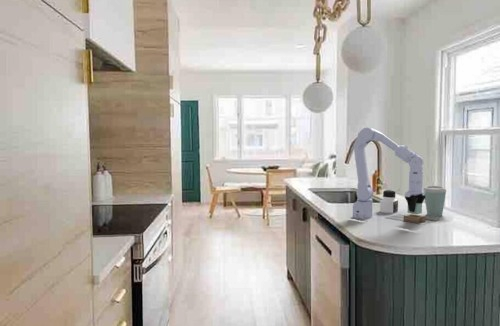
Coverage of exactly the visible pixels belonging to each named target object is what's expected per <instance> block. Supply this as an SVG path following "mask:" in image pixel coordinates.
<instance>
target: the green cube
mask: <svg viewBox="0 0 500 326" xmlns="http://www.w3.org/2000/svg"><path fill="white" fill-rule="evenodd" d="M422 213H423V203H416V207H415V211H414V212H410V211H409V206H408V205H407V214H418V215H421V214H422Z"/></svg>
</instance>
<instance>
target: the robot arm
mask: <svg viewBox="0 0 500 326" xmlns="http://www.w3.org/2000/svg"><path fill="white" fill-rule="evenodd" d="M372 141H374V142H380V143H382V144H384V145H385V146H386V147H388V148H389V149H391V150H392V151H394V155H395V156H397V158H399V159H401V160H402V161H403V162H405V164H408V165H409V172H408V173H409V175H408V177H409V178H408V191H405V192H404V199H405V200H406V203H407V207H408V206H409V211H410V212H414V211H415V207H416V203H422V204H423V203H424V202H425V197H426V196H425V195H424V194H425V190H423V177H424V175H423V174H424V173H423V164H424V159H423V157H422V156H421V155H419V154H418V153H417V152H415V151H412V150H411V149H409V147H408V146H407V145H404V144H403V145H402V144H401V145H398V144H397V142H395V141H393V140H392V139H390V138H389V137H388V136H386V135H385V134H384V133H382V132H381V131H379V130H377V129H375V128H373V127H364V128H362V129H361V130H360V131H359V132H358V134H357V137H356V139H355V141H354V143H353V152H354V158H355V159H354V160H355V167H356V174H357V190H356V192H355V193H356V197H357V198H356V201H354V203H353V205H352V219H354V220H355V219H357V220H359V221H360V220H362V221H366V220H365V219H370V218H373V198H372V197H373V195H374V189H373V188H372V185H371V182H370V179H369V171H368V164H367V158H366V149H365V148H366V147H367V146H368V145H369V144H370V143H371V142H372Z"/></svg>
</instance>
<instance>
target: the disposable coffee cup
mask: <svg viewBox="0 0 500 326" xmlns="http://www.w3.org/2000/svg"><path fill="white" fill-rule="evenodd" d="M422 190H425V194H423V195H425V196H426V197H425V199H424V202H425V209H426V214H427V216H433V217H442V216H443V212H444V207H445V200H446V195H447V188H446V187H444V186H441V185H427V186H424V187H423V188H422Z"/></svg>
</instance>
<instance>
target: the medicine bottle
mask: <svg viewBox="0 0 500 326" xmlns="http://www.w3.org/2000/svg"><path fill="white" fill-rule="evenodd" d="M398 211H399V200H398V199H397V198H396V191H395V190H392V189H390V190H389V189H388V190H386V189H385V190H384V191H383V192H382V199H380V200H379V212H380V213H387V214H395V213H397V212H398Z"/></svg>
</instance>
